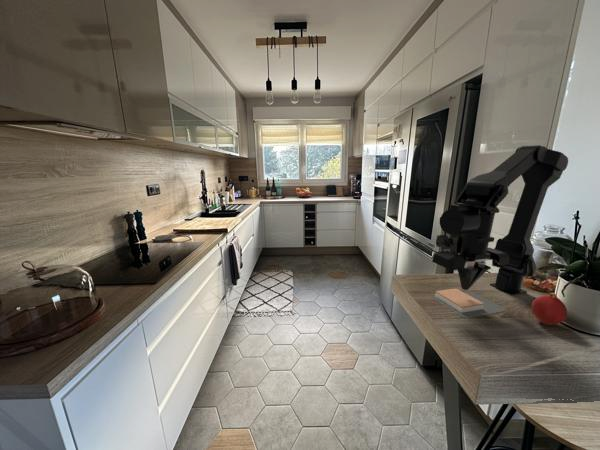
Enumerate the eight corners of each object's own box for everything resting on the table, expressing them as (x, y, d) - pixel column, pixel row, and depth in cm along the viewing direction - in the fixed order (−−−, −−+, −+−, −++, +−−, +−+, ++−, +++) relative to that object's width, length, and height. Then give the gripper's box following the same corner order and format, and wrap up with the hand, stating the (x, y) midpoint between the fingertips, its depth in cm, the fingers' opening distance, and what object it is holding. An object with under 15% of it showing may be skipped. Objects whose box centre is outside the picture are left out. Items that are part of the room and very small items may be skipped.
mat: (470, 292, 72) (471, 291, 72) (507, 311, 63) (508, 310, 63) (431, 298, 68) (431, 296, 68) (464, 319, 59) (464, 318, 59)
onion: (529, 314, 62) (537, 284, 60) (562, 325, 58) (571, 293, 56) (526, 323, 58) (535, 292, 56) (562, 336, 54) (572, 302, 52)
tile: (456, 288, 70) (435, 291, 68) (483, 303, 63) (462, 306, 61) (455, 293, 70) (434, 296, 68) (482, 309, 63) (460, 312, 61)
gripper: (474, 222, 72) (464, 273, 75) (420, 224, 67) (412, 279, 70) (517, 232, 61) (503, 291, 65) (457, 236, 56) (445, 299, 60)
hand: (464, 289), depth 65 cm, fingers closed
